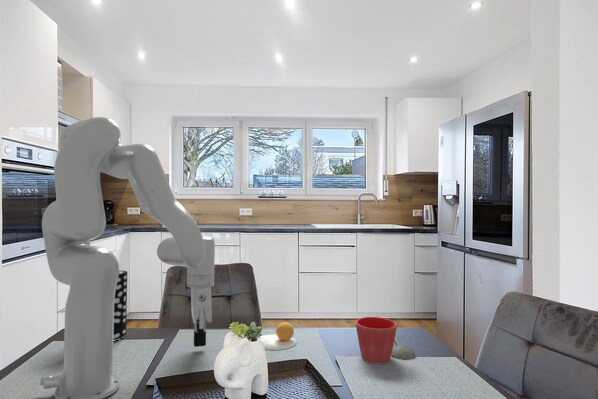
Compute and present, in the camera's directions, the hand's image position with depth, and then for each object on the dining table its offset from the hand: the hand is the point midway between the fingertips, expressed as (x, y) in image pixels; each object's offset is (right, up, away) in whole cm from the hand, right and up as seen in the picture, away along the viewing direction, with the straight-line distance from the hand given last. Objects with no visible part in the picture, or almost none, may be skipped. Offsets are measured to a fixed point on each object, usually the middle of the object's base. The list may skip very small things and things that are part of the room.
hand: (199, 345), depth 108 cm
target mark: (+21, -2, +7) cm, 22 cm away
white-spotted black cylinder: (-30, -2, +10) cm, 31 cm away
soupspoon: (+58, -3, +5) cm, 58 cm away
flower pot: (+49, -2, -4) cm, 49 cm away
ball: (+24, +1, +9) cm, 25 cm away
